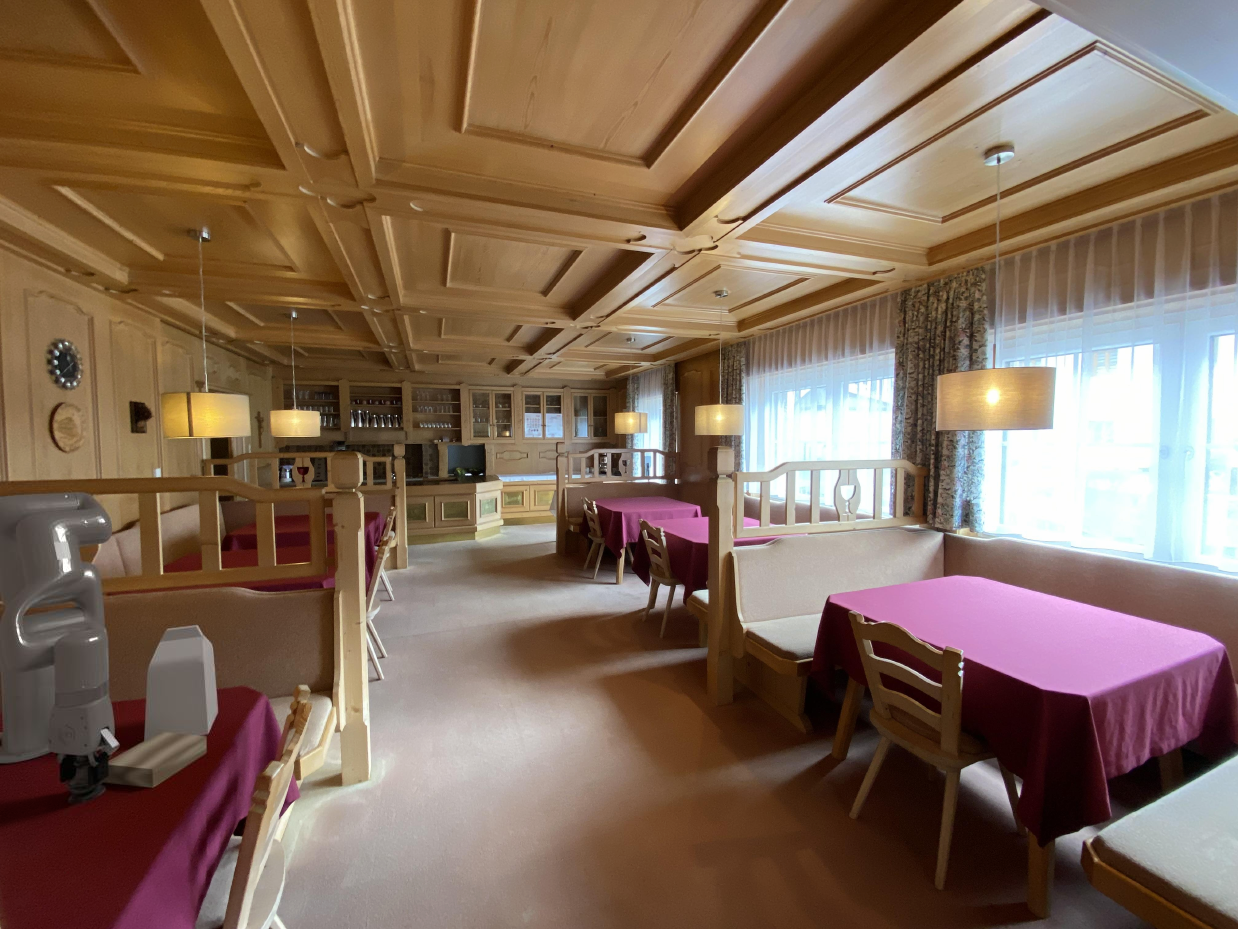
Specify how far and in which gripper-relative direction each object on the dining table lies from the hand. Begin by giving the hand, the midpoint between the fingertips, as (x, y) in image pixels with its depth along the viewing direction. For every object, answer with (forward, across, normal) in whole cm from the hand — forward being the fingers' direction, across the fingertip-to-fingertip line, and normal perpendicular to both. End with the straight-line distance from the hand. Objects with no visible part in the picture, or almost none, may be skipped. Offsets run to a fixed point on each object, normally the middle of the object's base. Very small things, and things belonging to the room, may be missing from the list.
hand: (84, 778), depth 102 cm
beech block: (+4, +5, +10) cm, 12 cm away
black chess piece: (+4, 0, 0) cm, 4 cm away
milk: (+4, -4, +24) cm, 25 cm away
